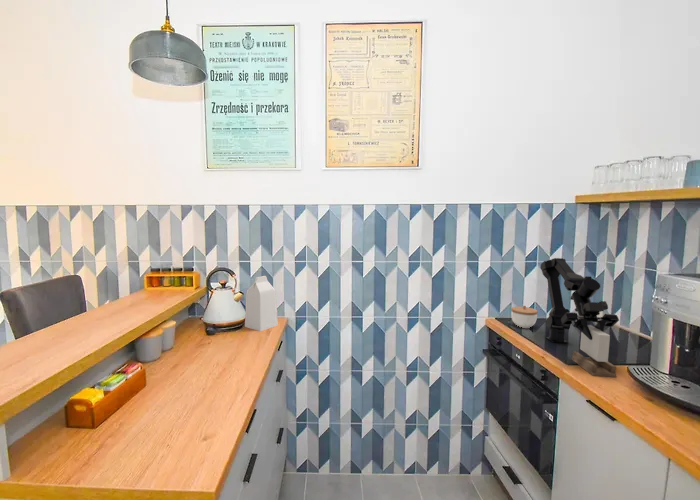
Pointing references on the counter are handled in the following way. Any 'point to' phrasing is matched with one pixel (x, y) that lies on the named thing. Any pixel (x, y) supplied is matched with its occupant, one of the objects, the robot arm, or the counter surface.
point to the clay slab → (596, 344)
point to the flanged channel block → (594, 365)
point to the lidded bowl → (524, 316)
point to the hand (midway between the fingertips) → (596, 339)
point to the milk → (261, 305)
